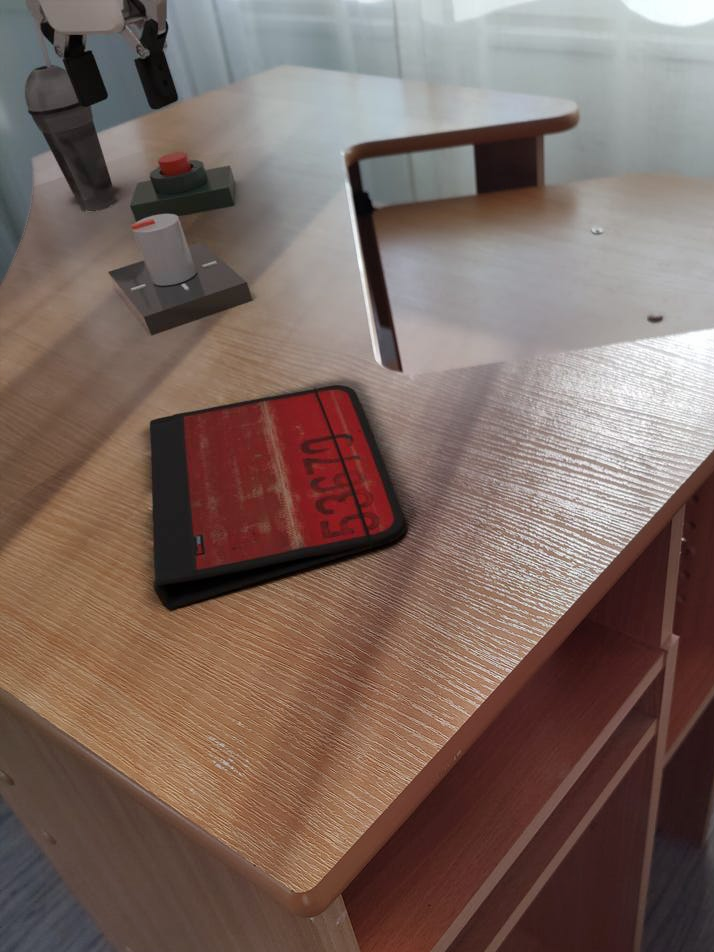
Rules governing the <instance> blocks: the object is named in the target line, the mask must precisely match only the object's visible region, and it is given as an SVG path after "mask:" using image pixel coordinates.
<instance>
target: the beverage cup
mask: <svg viewBox="0 0 714 952" xmlns="http://www.w3.org/2000/svg"><path fill="white" fill-rule="evenodd" d="M32 20H33V23H34V24H33V25H34V27H35V30H36V34H37V38H38V41H39V44H40V48H41V51H42V54H43V58H44V62H45V65H41V66H38V67H35V68H34V69H33V70H31V72H30V73H29V75H28V76H27V79H26V81H25V83H24V84H25V85H24V100H25V104H26V106H27V112H28V114H29V115H31V118H32V121H33V122H34V124H35V125H36V127H37V128H38V130H39V131H40V132H41V134H42V135H43V137H44V139H45V141H46V143H47V145H48V147H49V149H50V152H51V153H52V155H53V157H54V159H55V161H56V163H57V165H58V167H59V169H60V172H61V173H62V175H63V177H64V179H65V181H66V182H67V185H68V187H69V188H70V191H71V193H72V195H73V197H74V198H75V199H76V201H77V203H78V205H79V206H80V208H81V211H83V210H85V211H86V210H87V211H94V212H97V211H96V210H99V211H102V210H101V209H103V210H106V209H109V208H110V207H109V206H111V205H113V204H114V203H115V202H116V201H117V198H116V194H115V191H114V185H113V182H112V179H111V175H110V173H109V169H108V165H107V162H106V160H105V156H104V153H103V149H102V146H101V142H100V140H99V136H98V132H97V130H96V126H95V123H94V116H93V110H92V105H91V106H88V107H82V106H81V105H80V104H79V102H78V99H77V96H76V94H75V91H74V89H73V86H72V83H71V81H70V78H69V76H68V73H67V71H66V68H63V67H61V66H58V65H54V64H51V60H50V57H49V53H48V50H47V46H46V42H45V39H44V35H43V33H42V31H41V28H40V25H39V24H38V23H37V22H36V20H35V19H34V17H33V18H32ZM116 203H117V202H116ZM116 203H115V204H116ZM115 204H114V205H115ZM114 205H113V206H114ZM108 207H109V208H108ZM111 207H112V206H111ZM105 208H106V209H105ZM85 211H84V212H85Z"/></svg>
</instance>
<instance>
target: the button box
mask: <svg viewBox="0 0 714 952" xmlns="http://www.w3.org/2000/svg"><path fill="white" fill-rule="evenodd" d="M189 161H190V164H191V168H192V169H190V170H189V171H186V172H183V173H180V174H174V175H162V172H161V169H160V166H158V167H157V168H155V169H154V170H152V171H150V174H149V179H150V180H146V181H140V182H137V183H136V185H135V189H134V192H133V195H132V199H131V202H130V206H129V207H130V210H131V212H132V214H133V218H134V219H135V223H136V222H138V221H139V220H142V219H144V218H147V217H150V216H154V215H159V214H175V215H177V216H178V217H182V216H188V215H192V214H197V213H203V212H210V211H214V210H219V209H225V208H229V207H235V204H236V203H235V201H236V180H235V178H234V173H233V171H232V167H231V165H225V166H220V167H215V168H209V169H206V168H205V164H204V162H203V161H200V160H197V159H189Z"/></svg>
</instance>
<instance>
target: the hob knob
mask: <svg viewBox="0 0 714 952" xmlns="http://www.w3.org/2000/svg"><path fill="white" fill-rule="evenodd" d="M130 228H131V231H132V234H133V236H134V240H135V242H136V245H137V247H138V250H139V252H140V255H141V257H142V261H144V263H145V265H146V268H147V270H148V273H149V276H150V278H151V281H152V283H153V284H155V285H159V286H168V285H174V284H178V283H182V282H184V281H187V280H189V279H190V278H192V277H193V276H194V275H195V274H196V273H197V269H196V266H195V263H194V260H193V258H192V255H191V252H190V249H189V246H190V245H189V244H188V243H189V242H188V241H187V238H186V234H185V232H184V229H183V226H182V223H181V220H180V216H177V215H175V214H159V215H154V216H150V217H147V218H144V219H142V220H139V221H138V222H136V221H135V222H134V223H133V224H130Z"/></svg>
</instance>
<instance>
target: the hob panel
mask: <svg viewBox="0 0 714 952" xmlns="http://www.w3.org/2000/svg"><path fill="white" fill-rule="evenodd" d="M188 246H189V249H190V252H191V255H192V258H193V260H194V263H195V266H196V269H197V273H196V274H195V275H194V276H193V277H192V278H190V279H189V280H187V281H184V282H182V283H178V284H174V285H168V286H159V285H155V284H153V283H152V281H151V278H150V276H149V273H148V270H147V268H146V265H145V263H144V260H140V261H137V262H134V263H131V264H128V265H125V266H122V267H119V268H116V269H112V270H109V271H107V274H108V277H109V278H110V282H111V283H112V286H113V288H114V291H116V293H117V294H118V295H119V296H120V298H121V299H122V300H123V302H124V303H125V304H126V305H127V307H128V308H129V310H130V311H131V313H133V314H134V316H135V317H136V319H137V320H138V321H139V322H140V324H141V325H142V326H143V327H144V328H145V330H146V331H147V333H148V334H149V335H150V336H151V337H152V336H155V335H158V334H160V333H163V332H166V331H169V330H172V329H175V328H178V327H180V326H183V325H186V324H190V323H192V322H196V321H198V320H202V319H204V318H206V317H210V316H213V315H215V314H219V313H222V312H224V311H227V310H230V309H233V308H236V307H239V306H243V305H245V304H247V303H250V302H253V301H254V300H253V297H252V294H251V291H250V287H249V284H248V282H247V280H245V278H243V277H242V276H241V275H240V274H239V273H238V272H236V271H235V270H234V269H233V268H231V266H229V265H228V264H227V263H226V262H225V261H224V260H223V259H222V258H221V257H219V256H218V255H217V254H216V253H215V252H214V251H213V250H211V249H210V248H209V247H208V246H207V245H206V244H205V243H204V242H202V241H200V242H198V243H194V244H191V245H188Z"/></svg>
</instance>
